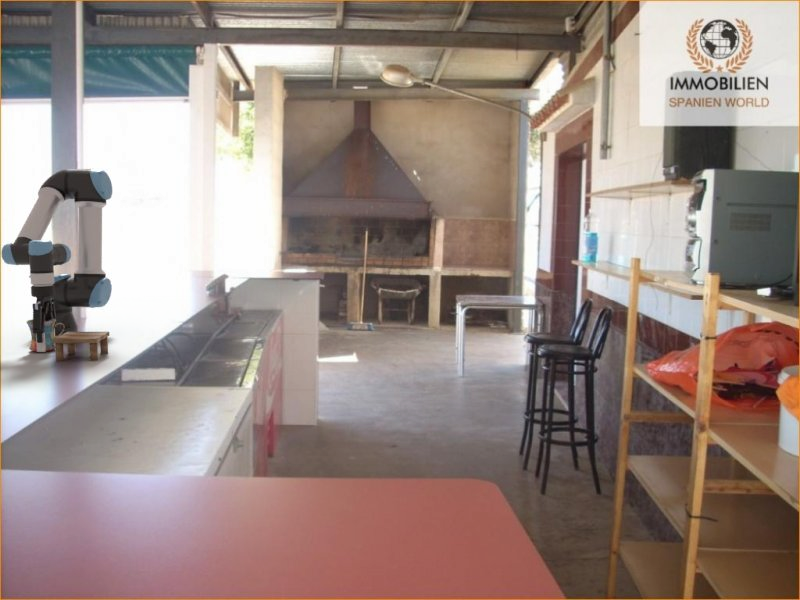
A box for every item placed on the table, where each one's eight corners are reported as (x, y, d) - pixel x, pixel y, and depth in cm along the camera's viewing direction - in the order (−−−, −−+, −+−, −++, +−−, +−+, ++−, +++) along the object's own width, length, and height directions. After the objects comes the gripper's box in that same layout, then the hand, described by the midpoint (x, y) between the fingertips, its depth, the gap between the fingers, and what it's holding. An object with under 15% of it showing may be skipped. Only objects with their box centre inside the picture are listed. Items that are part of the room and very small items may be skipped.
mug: (28, 354, 262) (26, 323, 260) (28, 348, 270) (26, 319, 268) (66, 351, 267) (64, 321, 265) (65, 346, 275) (63, 317, 273)
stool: (68, 352, 264) (67, 331, 263) (110, 352, 265) (109, 331, 264) (53, 361, 250) (52, 339, 250) (97, 360, 252) (96, 338, 251)
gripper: (43, 281, 275) (47, 343, 278) (18, 288, 254) (23, 355, 257) (64, 281, 275) (68, 343, 278) (42, 288, 254) (45, 355, 258)
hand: (46, 348), depth 268 cm, fingers closed on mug, 8 cm apart
